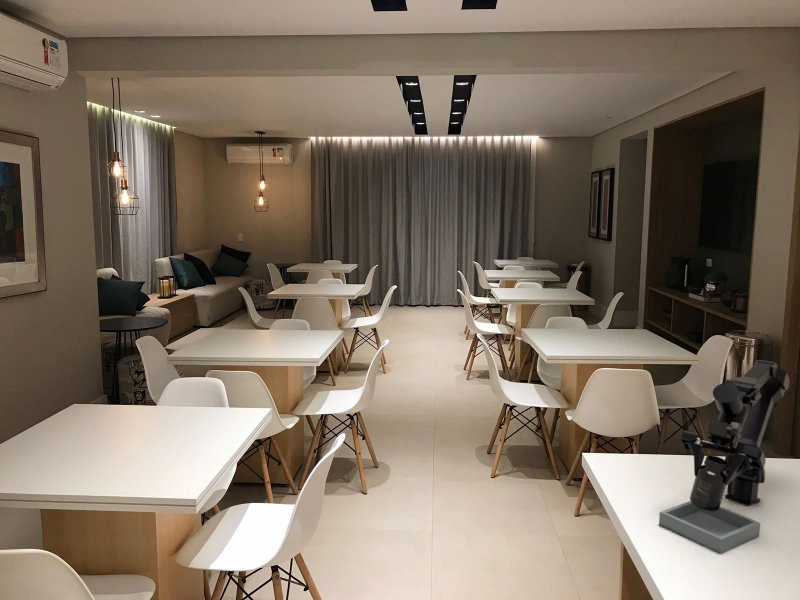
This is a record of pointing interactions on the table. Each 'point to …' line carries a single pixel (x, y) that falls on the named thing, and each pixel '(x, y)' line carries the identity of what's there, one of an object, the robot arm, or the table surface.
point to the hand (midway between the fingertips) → (710, 479)
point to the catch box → (710, 526)
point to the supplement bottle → (709, 484)
